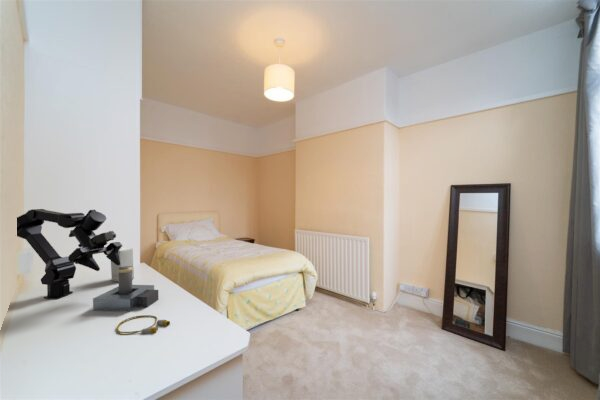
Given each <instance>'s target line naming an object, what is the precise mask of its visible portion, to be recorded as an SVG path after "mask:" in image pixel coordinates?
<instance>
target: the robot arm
mask: <svg viewBox="0 0 600 400" xmlns="http://www.w3.org/2000/svg"><path fill="white" fill-rule="evenodd" d="M16 218H17V236H16V237H18V238H21V239H24V240H25V241H26V242H27V243H28V244H29V245H30V247H31V248H32V249H33V251H34V252H35V253H36V254H37V255H38V257H39V258H40V259H41V260H42V262H43V263H45V267H44V273H45V274H44V275H43V276H42V278H40V283H41V284H42V285H47V286H46V287H47V288H46V289H47V290H46V291H47V293H46V294H47V295H45V296H43V297H42V299H48V300H49V299H54V300H55V299H56V300H57V299H60V298H61V299H62V298H63V297H66V296H68V295H71V294H73V293H74V292H73V291H71V290H70V289H71V287H70V280H71V279H74V277H75V274H76V270H77V267H76V265H80V266H84V267H87V268H89V269H91V270H94V271H96V272H99V271H100V270H101V267H100V266H99V265H98V263H97V262H96V260H95V259H94V256H93V255H97V254H104V255H105V256H106V258H107V259H108V260H109V261H110V262H111V261H112V262H113V263H115V264H116V265H120V260H119V255H118V251H119V250H120V249H121V248H122V247H123V244H122V243H121V242H120V241H115V242H110V241H113V240H115V238H116V237H117V234H116V232H114V231H113V230H110V231H107V232H102V233H99V234H96V233H95V231H97V230H98V229H99V228H100V227H101V226H102V225H103V223H105V222H106V220H107V217H106V215H105V214H103V213H102V212H99V211H97V210H96V209H89V211H88V212H87V213H86V214H84V213H83V212H69V213H68V212H67V213H65V212H59V211H54V210H47V209H43V208H37V209H29V210H27V211H26V212H25V213H23V214H21V215H20V216H17V217H16ZM45 222H49V223H50V222H51V223H55V224H57V226H59V227H61V228H64V229H70V228H71V230H70V231H69V234H68V237H69V238H72V237H75V239H76V240H77V242H78V243H79V244H78V246H77V248H75V249H74V250H73V251H72V252H71V253H70V254H69V255H68V256H63V257H62V256H60V254H59V253H58V251H56V249H55V248H54V247H53V246H52V244H51V243H50V242H49V241H48V240H47V238H46V237H45V236H44V235H43V233H42V229H43V225H44V223H45ZM108 242H110V243H109V244H108ZM107 244H108V245H107ZM106 245H107V246H106ZM75 264H76V265H75Z"/></svg>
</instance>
